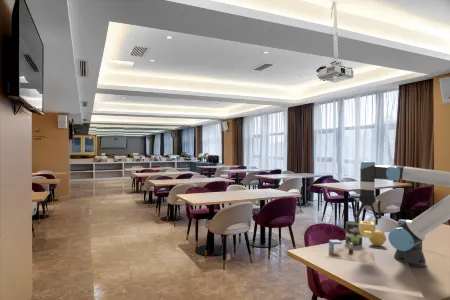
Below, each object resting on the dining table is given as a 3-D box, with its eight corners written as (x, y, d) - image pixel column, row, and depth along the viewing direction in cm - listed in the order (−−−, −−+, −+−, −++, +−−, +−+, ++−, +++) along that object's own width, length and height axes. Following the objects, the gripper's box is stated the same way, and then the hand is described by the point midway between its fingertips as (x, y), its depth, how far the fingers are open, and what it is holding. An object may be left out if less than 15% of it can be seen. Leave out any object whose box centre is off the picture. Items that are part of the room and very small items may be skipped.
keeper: (338, 250, 184) (338, 239, 184) (341, 253, 180) (341, 242, 180) (328, 250, 184) (328, 239, 184) (331, 253, 179) (331, 242, 179)
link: (375, 238, 163) (375, 227, 163) (360, 237, 166) (360, 225, 166) (373, 232, 175) (373, 222, 175) (359, 231, 178) (359, 220, 178)
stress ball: (373, 249, 196) (387, 241, 192) (363, 235, 201) (376, 227, 197) (377, 247, 203) (390, 240, 199) (367, 234, 208) (380, 226, 204)
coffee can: (363, 247, 195) (364, 225, 195) (346, 246, 197) (346, 224, 197) (360, 243, 205) (361, 221, 205) (344, 241, 207) (344, 220, 207)
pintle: (353, 251, 183) (353, 242, 183) (353, 252, 181) (353, 244, 181) (348, 250, 184) (348, 242, 184) (348, 252, 182) (348, 243, 182)
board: (372, 254, 182) (372, 252, 182) (375, 266, 163) (375, 264, 163) (329, 249, 191) (329, 247, 191) (327, 260, 172) (327, 257, 172)
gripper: (386, 189, 173) (385, 230, 173) (348, 187, 180) (347, 226, 181) (388, 190, 166) (387, 233, 166) (348, 188, 173) (347, 229, 174)
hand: (366, 229), depth 173 cm, fingers closed on link, 7 cm apart
